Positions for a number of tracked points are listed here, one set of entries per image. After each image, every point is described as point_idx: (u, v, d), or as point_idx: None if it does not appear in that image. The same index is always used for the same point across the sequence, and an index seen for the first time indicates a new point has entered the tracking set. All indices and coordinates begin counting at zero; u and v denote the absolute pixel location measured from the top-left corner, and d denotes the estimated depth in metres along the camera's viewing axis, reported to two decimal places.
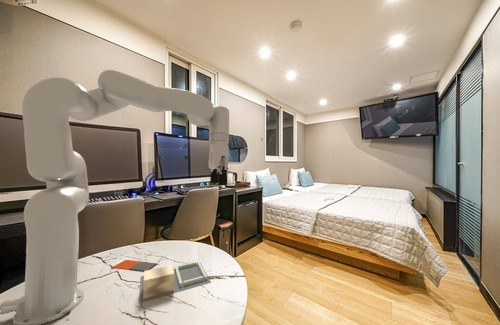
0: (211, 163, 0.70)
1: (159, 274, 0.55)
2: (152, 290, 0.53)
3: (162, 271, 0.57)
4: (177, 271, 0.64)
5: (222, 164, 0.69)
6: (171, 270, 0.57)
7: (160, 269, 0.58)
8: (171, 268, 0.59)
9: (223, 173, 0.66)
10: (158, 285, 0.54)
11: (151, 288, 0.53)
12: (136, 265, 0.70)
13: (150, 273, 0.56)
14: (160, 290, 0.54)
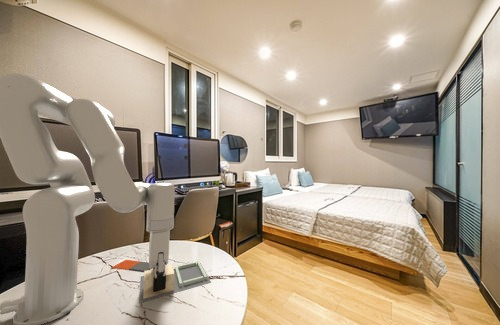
0: None
1: None
2: (152, 290, 0.53)
3: None
4: (177, 271, 0.64)
5: None
6: (171, 270, 0.57)
7: None
8: (171, 268, 0.59)
9: (158, 277, 0.53)
10: None
11: (151, 288, 0.53)
12: (136, 265, 0.70)
13: (150, 273, 0.56)
14: None
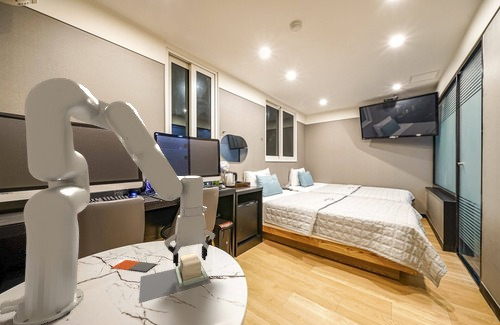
0: None
1: (185, 260, 0.64)
2: (180, 268, 0.65)
3: (191, 260, 0.64)
4: (177, 271, 0.64)
5: None
6: (189, 264, 0.61)
7: (194, 259, 0.65)
8: (194, 263, 0.62)
9: None
10: (181, 268, 0.64)
11: (180, 266, 0.65)
12: (136, 265, 0.70)
13: (189, 256, 0.67)
14: (181, 273, 0.63)
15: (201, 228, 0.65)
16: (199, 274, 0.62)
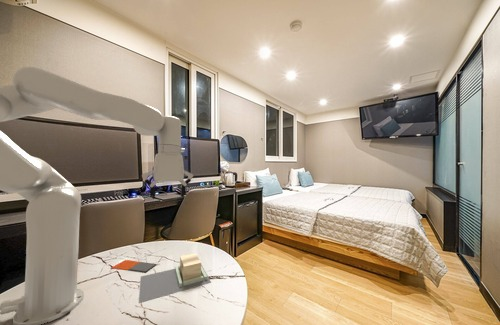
0: None
1: (185, 260, 0.64)
2: (180, 268, 0.65)
3: (191, 260, 0.64)
4: (177, 271, 0.64)
5: None
6: (189, 264, 0.61)
7: (194, 259, 0.65)
8: (194, 263, 0.62)
9: None
10: (181, 268, 0.64)
11: (180, 266, 0.65)
12: (136, 265, 0.70)
13: (189, 256, 0.67)
14: (181, 273, 0.63)
15: (178, 166, 0.68)
16: (199, 274, 0.62)
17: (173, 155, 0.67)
